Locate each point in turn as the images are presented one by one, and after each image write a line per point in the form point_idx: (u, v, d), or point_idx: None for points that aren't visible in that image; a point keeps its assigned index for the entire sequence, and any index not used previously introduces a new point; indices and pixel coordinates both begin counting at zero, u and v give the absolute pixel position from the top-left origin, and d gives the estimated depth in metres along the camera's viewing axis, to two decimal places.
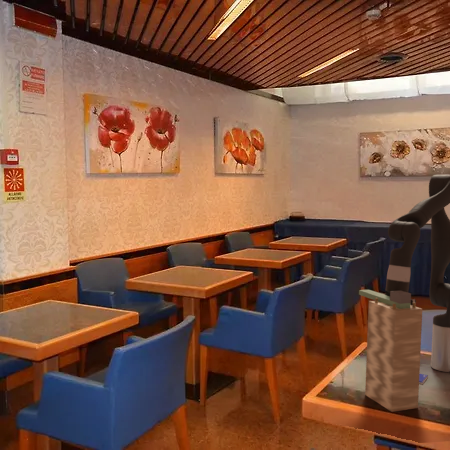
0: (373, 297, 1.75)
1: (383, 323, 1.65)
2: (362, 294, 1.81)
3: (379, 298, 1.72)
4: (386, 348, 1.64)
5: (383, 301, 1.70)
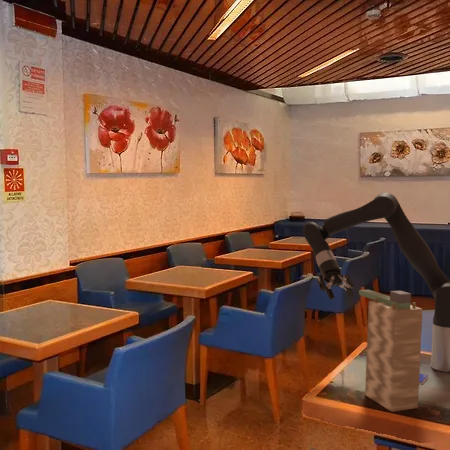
0: (373, 297, 1.75)
1: (383, 323, 1.65)
2: (362, 294, 1.81)
3: (379, 298, 1.72)
4: (386, 348, 1.64)
5: (383, 301, 1.70)
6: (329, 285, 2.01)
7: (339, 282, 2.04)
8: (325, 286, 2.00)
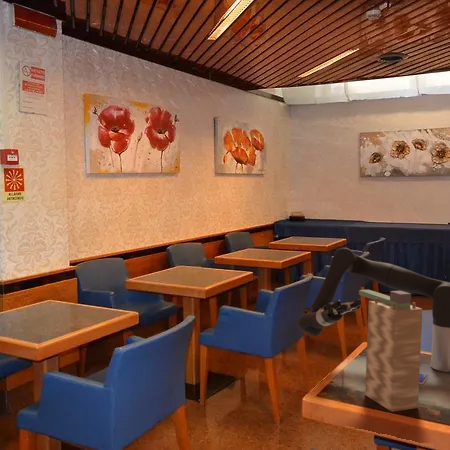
0: (373, 297, 1.75)
1: (383, 323, 1.65)
2: (362, 294, 1.81)
3: (379, 298, 1.72)
4: (386, 348, 1.64)
5: (383, 301, 1.70)
6: None
7: None
8: (328, 303, 1.94)
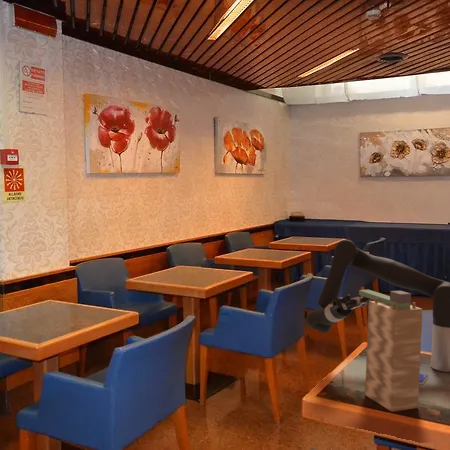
0: (373, 297, 1.75)
1: (383, 323, 1.65)
2: (362, 294, 1.81)
3: (379, 298, 1.72)
4: (386, 348, 1.64)
5: (383, 301, 1.70)
6: None
7: (352, 299, 1.92)
8: (337, 298, 1.88)
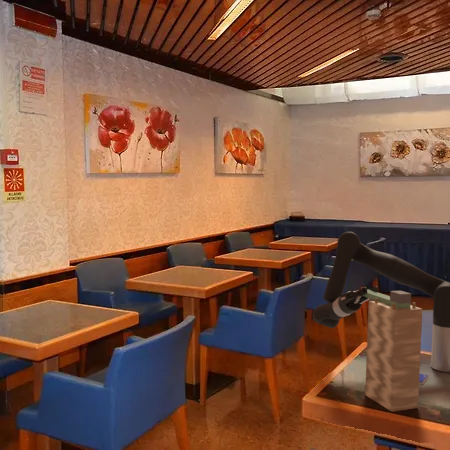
0: (373, 297, 1.75)
1: (383, 323, 1.65)
2: None
3: (379, 298, 1.72)
4: (386, 348, 1.64)
5: (383, 301, 1.70)
6: None
7: None
8: (353, 291, 1.82)
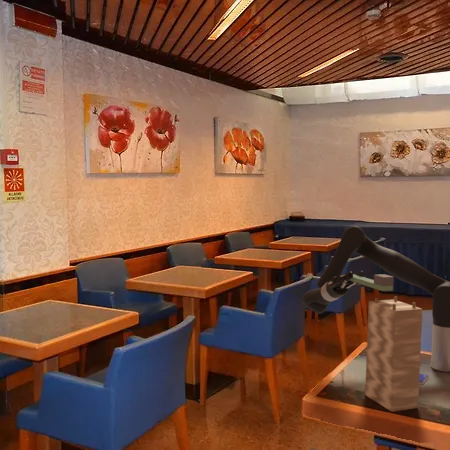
0: (358, 281, 1.83)
1: (383, 323, 1.65)
2: None
3: (364, 282, 1.80)
4: (386, 348, 1.64)
5: (367, 284, 1.78)
6: None
7: None
8: (339, 275, 1.90)
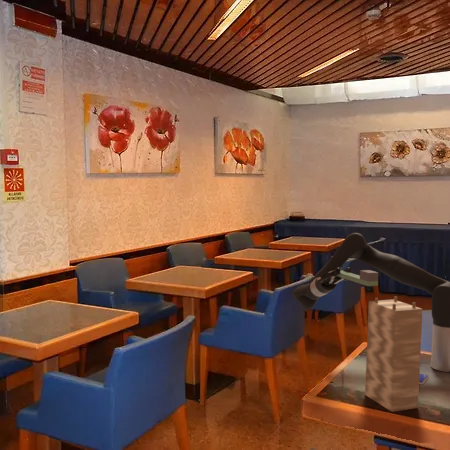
0: (345, 276, 1.90)
1: (383, 323, 1.65)
2: None
3: (350, 277, 1.87)
4: (386, 348, 1.64)
5: (354, 280, 1.85)
6: None
7: None
8: (327, 271, 1.98)
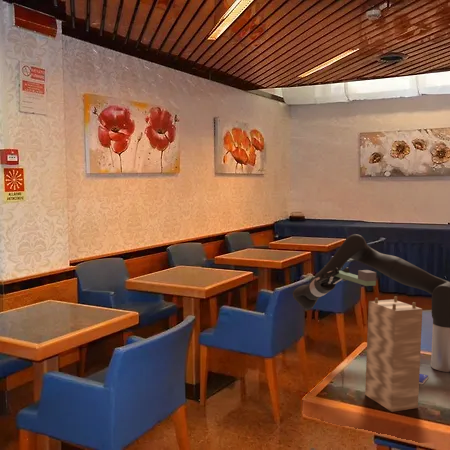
0: (344, 276, 1.91)
1: (383, 323, 1.65)
2: None
3: (349, 277, 1.88)
4: (386, 348, 1.64)
5: (352, 280, 1.86)
6: None
7: None
8: (326, 272, 1.99)
